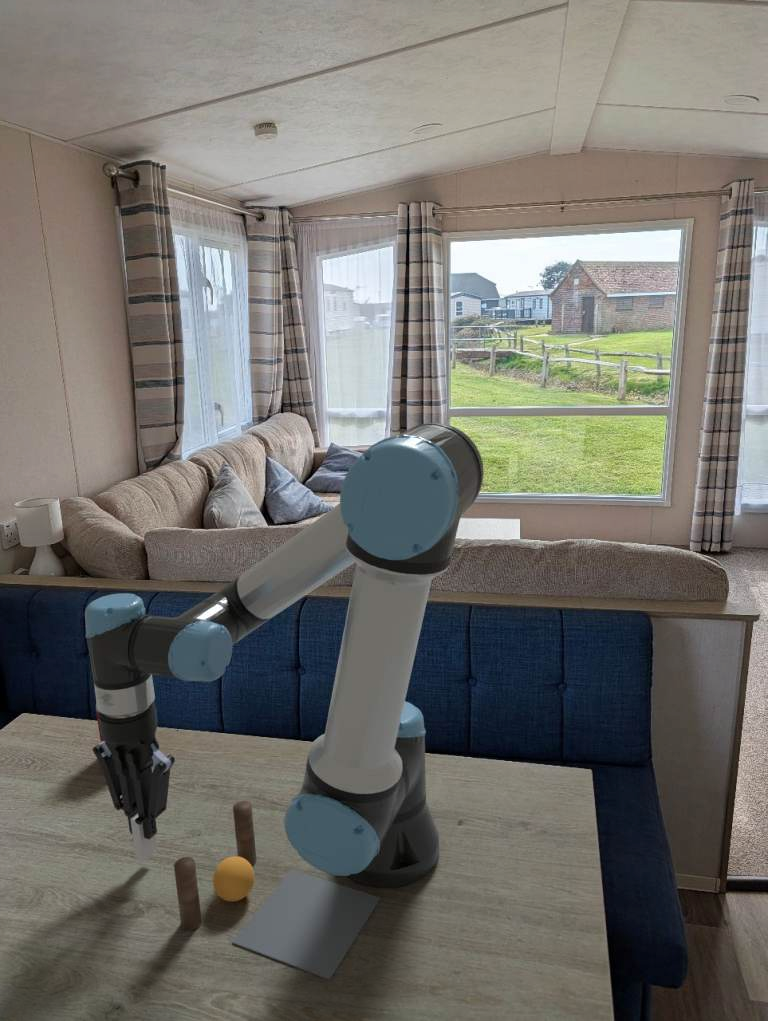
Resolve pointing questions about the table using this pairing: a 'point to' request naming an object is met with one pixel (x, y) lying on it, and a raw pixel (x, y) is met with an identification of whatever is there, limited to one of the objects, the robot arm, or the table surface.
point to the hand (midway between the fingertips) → (146, 853)
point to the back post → (244, 831)
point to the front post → (187, 893)
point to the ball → (233, 878)
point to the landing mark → (308, 923)
